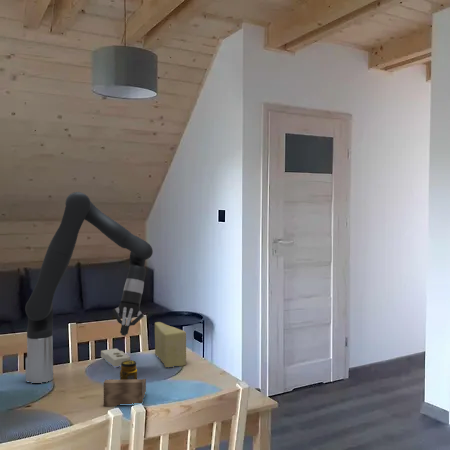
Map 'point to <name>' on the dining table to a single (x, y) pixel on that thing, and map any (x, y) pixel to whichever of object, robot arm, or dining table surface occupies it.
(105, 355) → the electrical outlet
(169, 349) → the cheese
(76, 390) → the dining table surface
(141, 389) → the dark wood block
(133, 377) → the condiment
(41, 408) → the dining table surface
